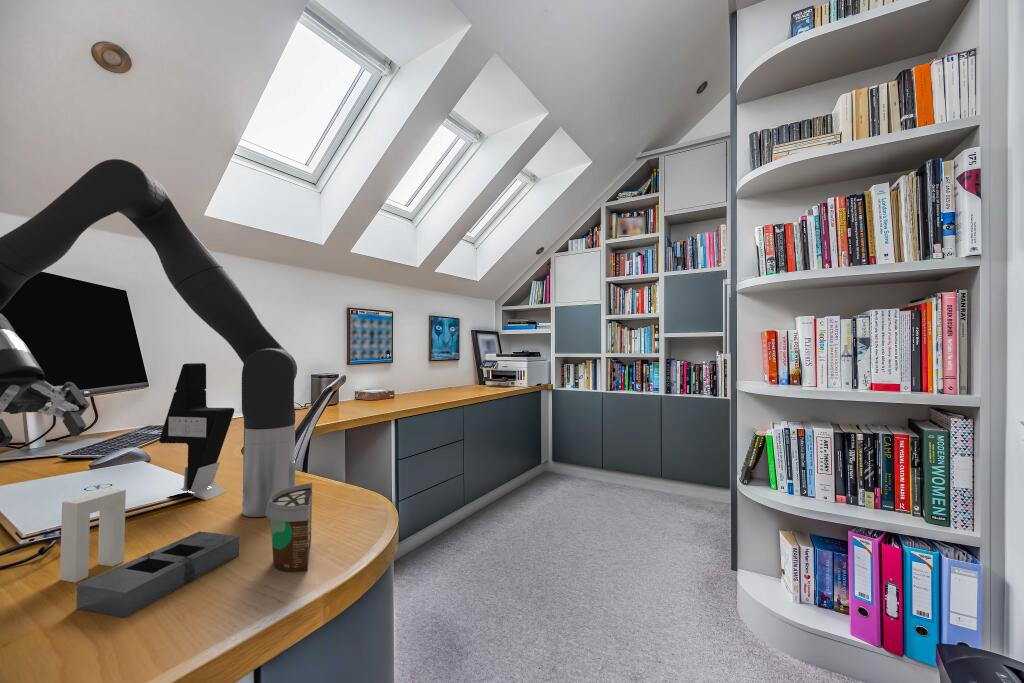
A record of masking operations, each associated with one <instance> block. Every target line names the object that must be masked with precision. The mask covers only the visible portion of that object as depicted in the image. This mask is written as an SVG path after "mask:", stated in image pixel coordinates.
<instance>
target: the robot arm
mask: <svg viewBox="0 0 1024 683" xmlns="http://www.w3.org/2000/svg"><path fill="white" fill-rule="evenodd" d="M116 213H120V214H121V215H123V216H124V217H126V219H128V220H129V221H130V222H131V223H132V224H133V225H134V226H135V227H136V228H137V229H138V230H139V231H140V232H141V234H143V236H144V237H145V238H146V239H147V240H148V242H149V243H150V244H151V245H152V247H153V248H154V250H155V252H156V254H157V256H158V258H159V261H160V263H161V265H162V266H161V267H162V268H163V271H164V273H165V275H166V277H167V279H168V281H169V283H171V286H172V287H173V288H174V289H175V290H176V292H177V293H178V294H179V296H180V298H182V300H183V301H184V302H185V303H186V305H187V306H188V307H189V309H191V310H192V311H193V313H195V315H196V316H198V317H199V318H200V319H201V320H202V321H203V322H204V323H205V324H206V325H208V326H209V327H210V328H211V329H213V330H214V332H216V333H217V334H218V335H219V336H220V337H222V338H223V339H224V340H225V342H226V343H228V344H229V345H230V347H231V348H232V349H233V351H234V352H235V354H236V355H237V356H238V357H239V359H240V361H241V362H242V363H243V366H242V369H241V412H242V418H243V452H242V453H243V457H242V459H243V464H242V501H241V502H242V503H241V507H242V509H241V510H242V512H241V513H242V515H243V516H245V517H249V518H260V517H261V518H262V517H267V516H266V515H265V513H266V509H267V505H268V502H269V500H270V498H271V496H272V495H273V494H275V493H277V492H278V491H281V490H283V489H286V488H289V487H293V486H296V461H295V458H296V457H295V455H296V453H295V452H296V450H295V449H296V409H295V380H296V377H297V374H298V365H297V362H296V360H295V359H294V357H293V356H292V354H290V353H289V352H288V351H287V350H286V349H285V348H284V347H283V346H282V345H281V344H280V343H279V341H277V340H276V338H274V336H273V335H272V334H271V333H270V332H269V331H268V330H267V329H266V327H265V326H264V325H263V323H262V322H261V320H260V319H259V318H258V316H257V314H256V312H255V311H254V310H253V308H252V306H251V304H250V303H249V301H248V300H247V297H245V295H244V294H243V292H242V291H241V290H240V288H239V286H238V285H237V284H236V282H235V281H234V280H233V278H232V277H231V276H230V274H229V273H228V272H227V270H226V269H225V267H224V266H223V265H222V264H221V263H220V261H218V259H217V258H216V257H215V256H214V254H212V252H211V251H210V250H209V249H208V247H206V245H205V244H204V243H203V242H202V241H201V240H200V239H199V238H198V237H197V235H195V233H194V232H193V231H192V230H191V228H190V227H189V226H188V224H187V223H186V221H185V220H184V218H183V216H182V215H181V214H180V212H179V210H178V208H177V206H175V204H174V202H173V201H172V198H171V197H170V195H169V193H168V192H167V190H166V189H165V187H164V186H163V185H162V184H161V182H160V181H159V180H158V179H156V177H154V176H152V175H151V174H149V173H148V172H147V171H146V170H144V169H143V168H141V167H140V166H138V165H137V164H135V163H133V162H130V161H128V160H123V159H120V158H119V159H118V158H117V159H116V158H112V159H106V160H102V161H101V162H99V163H97V164H95V165H94V166H93V167H91V168H90V169H89V170H88V171H86V172H85V173H84V174H82V175H81V177H79V178H78V179H77V180H76V181H75V182H74V183H73V184H72V185H71V186H70V187H68V188H67V189H65V191H63V192H62V193H61V194H60V195H59V196H58V197H57V198H55V199H54V200H53V201H51V202H50V203H49V204H48V205H47V206H46V207H44V208H43V209H41V210H40V211H39V212H38V213H37V214H35V215H34V216H33V217H31V218H30V219H28V220H27V221H25V222H24V223H22V224H20V225H19V226H18V227H16V228H14V229H13V230H11V231H9V232H7V233H5V234H3V235H1V237H0V311H1V310H2V309H3V308H4V307H5V306H6V305H7V304H8V303H9V302H10V300H11V299H12V298H13V297H14V295H15V294H16V293H17V292H18V291H19V290H20V289H21V288H22V286H24V284H25V283H26V282H27V281H28V280H30V279H31V278H33V277H35V276H37V275H38V274H40V273H41V272H43V271H44V270H46V269H47V268H49V267H51V266H53V265H54V264H56V263H57V262H58V261H59V260H61V259H62V258H63V257H64V256H65V255H66V254H67V253H68V252H69V251H70V250H71V249H72V247H73V245H74V244H75V243H76V242H77V240H78V238H80V236H81V235H82V234H83V233H84V232H86V230H88V228H90V227H91V226H92V225H93V224H96V223H97V222H98V221H101V220H102V219H104V218H107V217H109V216H110V215H114V214H116ZM49 401H50V402H52V404H51V405H50V406H49V405H47V404H48V402H49ZM90 406H91V404H90V402H89V401H88V400H87V398H86V397H85V396H84V394H83V393H82V392H81V391H80V389H79V388H78V387H77V385H76V384H75V383H74V382H72V381H67V382H65V383H64V385H55V386H54V385H53V384H50V383H49V382H47V381H46V376H45V373H44V370H43V369H42V367H41V366H40V364H39V362H38V361H37V360H36V358H35V357H34V355H33V354H32V352H31V351H30V349H29V347H28V346H27V344H26V343H25V342H24V341H23V340H22V338H20V336H18V334H17V333H16V331H15V329H14V328H13V326H12V324H11V323H10V321H9V320H8V319H7V318H6V317H5V316H4V315H3V314H2V313H0V416H1V414H3V413H9V415H17V414H22V413H38V412H39V413H42V414H44V415H46V416H55V417H57V418H59V419H61V420H62V423H63V425H64V426H65V428H66V429H67V431H68V432H69V434H70V436H71V437H79V436H80V435H81V434H82V433H83V432H84V431H85V429H86V427H87V423H86V422H85V420H84V419H83V417H82V415H83V414H84V413H85V411H86V410H87V409H88V408H89V407H90ZM60 408H61V409H60ZM62 409H63V410H62ZM64 410H65V411H64ZM12 440H13V435H12V433H11V430H10V429H9V428H8V426H7V424H6V423H5V421H4V419H3V418H0V448H3V447H4V448H5V447H7V446H9V444H10V443H11V441H12Z"/></svg>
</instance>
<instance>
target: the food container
mask: <svg viewBox="0 0 1024 683" xmlns="http://www.w3.org/2000/svg"><path fill="white" fill-rule="evenodd" d="M312 499H313V482H308V483H303V484H298V485H295V486H293V487H289V488H286V489H283V490H281V491H278V492H277V493H275V494H273V495H272V496H271V498H270V500H269V502H268V505H267V509H266V513H265V515H266V516H265V517H267V519H270V531H271V544H272V546H271V547H272V561H273V562H272V563H273V564H272V565H273V567H274V568H275V569H276V570H277V571H279V572H284V573H303V572H307V571H308V570H309V563H310V555H311V547H312V514H313V513H312V508H313V507H312V506H313V500H312Z"/></svg>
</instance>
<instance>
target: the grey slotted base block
mask: <svg viewBox="0 0 1024 683" xmlns="http://www.w3.org/2000/svg"><path fill="white" fill-rule="evenodd" d="M238 556H240V536H239V535H232V534H231V535H230V534H225V533H223V534H222V533H216V532H207V531H198V532H197V531H196V532H195V533H192V534H190V535H187V536H186V537H183V538H181V539H178V540H176V541H174V542H172V543H169V544H167V545H164V546H163V547H160V548H158V549H155V550H153V551H151V552H148V553H147V554H144V555H142V556H140V557H139V556H138V557H137V558H134V559H132V560H130V561H128V562H126V563H125V562H124V564H123V563H122V564H120V565H119V566H116V567H114V568H112V569H110V570H107V571H105V572H103V573H100V574H97V575H96V576H93V577H90V578H88V579H86V580H84V581H81V582H80V583H77V584H76V609H77V610H82V611H88V612H93V613H98V614H103V615H108V616H112V617H118V618H127V617H128V616H131V615H132V614H134V613H136V612H138V611H140V610H141V609H143V608H145V607H146V606H147V607H148V605H150V604H152V603H154V602H155V601H158V600H160V599H161V598H163V597H165V596H166V595H169V594H171V593H172V592H175V591H176V590H178V589H181V588H182V587H183V586H185V585H187V584H189V583H190V582H191V583H192V582H193V581H195V580H196V579H199V578H200V577H201V576H204V575H205V574H207V573H209V572H211V571H213V570H215V569H217V568H219V567H221V566H222V565H224V564H226V563H227V562H230V561H231V560H233V559H235V558H236V557H238Z"/></svg>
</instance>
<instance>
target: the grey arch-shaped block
mask: <svg viewBox="0 0 1024 683" xmlns="http://www.w3.org/2000/svg"><path fill="white" fill-rule="evenodd" d="M126 491H127V490H126V489H122V488H121V489H119V488H108V489H104V490H101V491H97V492H94V493H89V494H86V495H82V496H79V497H74V498H70V499H68V500H64V501H62V502H61V529H60V530H61V531H60V560H59V561H60V562H59V580H60V581H64V582H70V583H77V582H80V581H82V580H85V579H86V578H88V577H89V565H90V563H89V560H90V531H91V530H90V526H91V525H90V524H91V514H94V513H97V512H99V513H98V514H99V515H98V548H97V549H98V551H97V565H101V566H106V567H107V566H108V567H115V566H117V565H119V564H121V563H122V564H123V563H125V531H126V499H127V498H126V497H127V496H126Z"/></svg>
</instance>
